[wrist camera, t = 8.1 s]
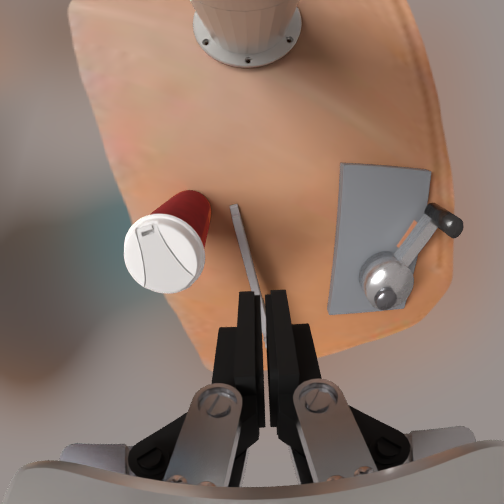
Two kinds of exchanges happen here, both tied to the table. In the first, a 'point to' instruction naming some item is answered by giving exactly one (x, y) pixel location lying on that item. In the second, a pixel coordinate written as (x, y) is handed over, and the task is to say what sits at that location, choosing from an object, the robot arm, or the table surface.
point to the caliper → (248, 262)
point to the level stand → (372, 225)
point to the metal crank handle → (403, 260)
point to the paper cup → (169, 244)
